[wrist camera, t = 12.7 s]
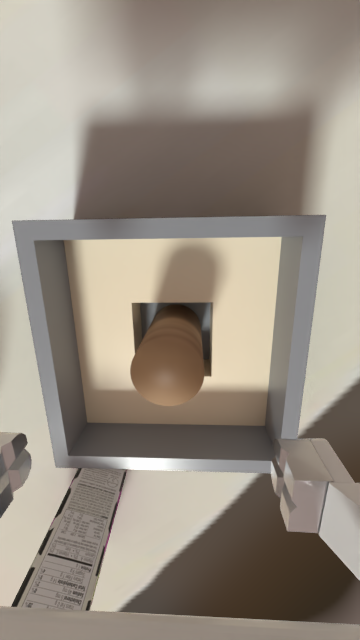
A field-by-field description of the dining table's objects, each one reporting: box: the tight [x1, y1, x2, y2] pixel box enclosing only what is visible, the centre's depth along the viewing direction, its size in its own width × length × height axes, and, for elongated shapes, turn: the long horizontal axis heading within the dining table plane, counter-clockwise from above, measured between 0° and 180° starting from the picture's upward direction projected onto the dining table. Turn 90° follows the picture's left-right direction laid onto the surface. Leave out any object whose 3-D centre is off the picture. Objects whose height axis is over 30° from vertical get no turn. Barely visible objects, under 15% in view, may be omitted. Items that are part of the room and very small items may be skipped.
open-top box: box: [12, 215, 326, 473], centre depth 20 cm, size 16×16×8 cm
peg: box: [130, 304, 204, 406], centre depth 18 cm, size 4×4×8 cm
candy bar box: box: [11, 468, 126, 611], centre depth 22 cm, size 11×5×16 cm, turn 163°
